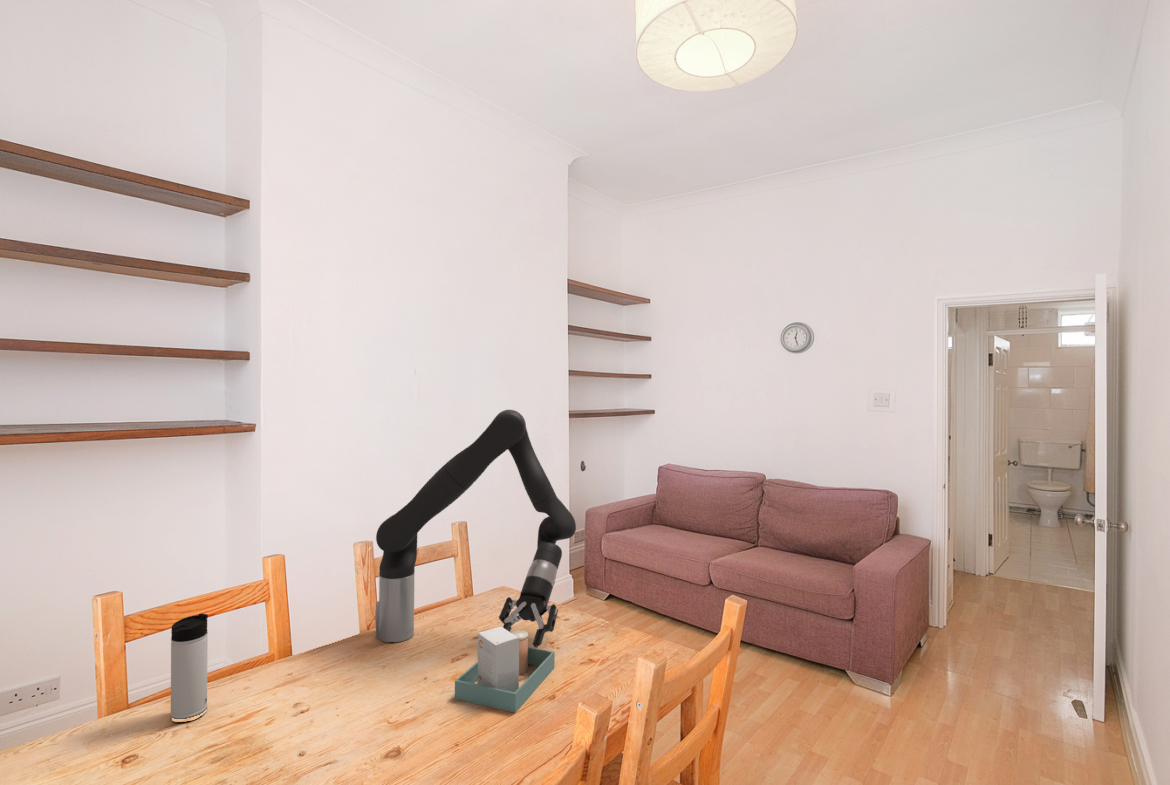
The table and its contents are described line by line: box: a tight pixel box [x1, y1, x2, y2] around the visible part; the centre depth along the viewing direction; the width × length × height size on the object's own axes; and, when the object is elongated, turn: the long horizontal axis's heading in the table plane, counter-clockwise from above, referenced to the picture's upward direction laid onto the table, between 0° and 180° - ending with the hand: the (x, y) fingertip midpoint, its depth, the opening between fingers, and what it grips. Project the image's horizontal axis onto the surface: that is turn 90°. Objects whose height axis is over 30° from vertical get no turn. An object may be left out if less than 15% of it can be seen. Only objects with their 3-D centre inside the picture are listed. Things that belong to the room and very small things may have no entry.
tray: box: [454, 646, 556, 713], centre depth 135 cm, size 15×21×4 cm
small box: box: [476, 626, 520, 692], centre depth 131 cm, size 8×6×13 cm
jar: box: [510, 629, 529, 676], centre depth 141 cm, size 4×4×9 cm
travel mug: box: [170, 612, 209, 719], centre depth 120 cm, size 6×7×20 cm
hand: (519, 643), depth 141 cm, fingers open, 8 cm apart
